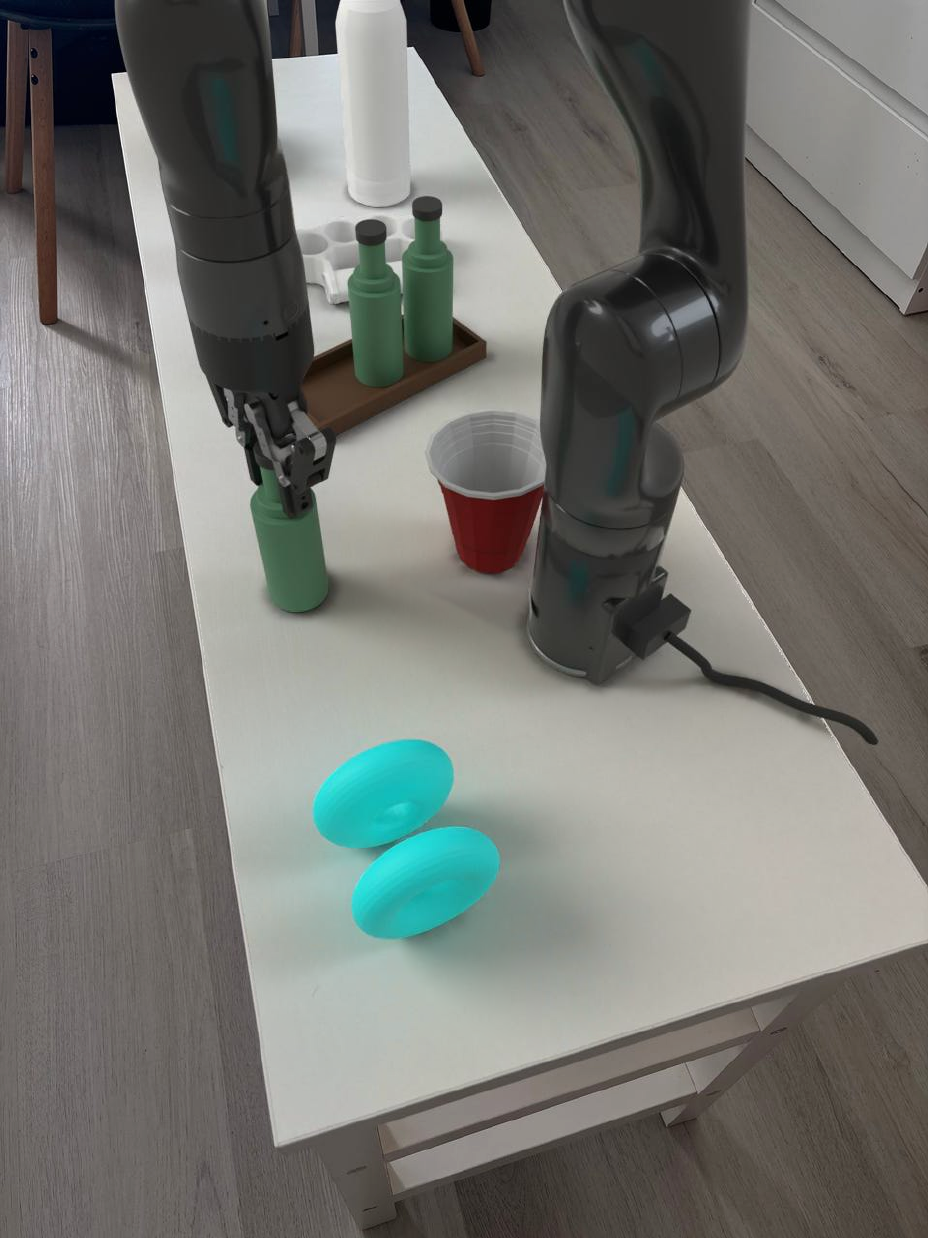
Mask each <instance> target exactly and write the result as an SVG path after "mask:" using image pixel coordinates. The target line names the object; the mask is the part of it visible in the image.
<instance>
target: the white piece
mask: <svg viewBox="0 0 928 1238" xmlns="http://www.w3.org/2000/svg"><path fill="white" fill-rule="evenodd" d="M367 219H375V220H379V221H382V222H383V223H384V224H385V225H386V231H387V238H386V240H385V257H386V264H388V265H390V266H391V267H392V269H393V271H394V272H395V273H396V274H397V275H398V276H399V278H400V282H401V294H403V278H402V255H403V253H404V252H405V251H406V250H407V249H408V246H409V244H410V243H411V242H412V241H414V240H415V222H414V216H413V214H408V215H396V214H392V213H388V212H368V213H366V214H362V215H359V216H343V215H342V216H339V217H336V218H332V219H327V220H326V221H325V222H324V223H323V224H321V225H318V226H315V227H311V228H301V229H300V228H299V229H296V234H297V237H298V241H299V244H300V248H301V252H302V256H303V261H304V268H305V276H306V284H315V285H320V286H321V287H323V289H324V291H325V295H326V299H327V301H328V304H330V305H331V304H334V305H336V304H340V303H347V302H349V297H348V285H347V282H348V279H349V277H350V276H351V275H352V274H353V271H354V269H355V268H356V267H357V266H358V265H359V264H360V259H359V245H358V241H357V240H356V234H355V226H356V224H357V223H359V222H360V221H363V220H367ZM442 228H443V227H442V225H441V224H440V240H441V241H443V229H442Z"/></svg>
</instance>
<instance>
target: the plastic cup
mask: <svg viewBox="0 0 928 1238" xmlns="http://www.w3.org/2000/svg"><path fill="white" fill-rule="evenodd" d="M424 454H425V459H426V462H427V466H428V470H429V472H430V474H431V475H432V476H433V477H435V479H436V481H437V483H438V485H439V487H440V490H441V494H442V496H443V500H444V505H445V508H446V513H447V518H448V521H449V526H450V530H451V533H452V536H453V540H454V545H455V549H456V553H457V554H458V556H459V559H460V560H461V561H462V563H463V564H464V565H465V566H466V567H467V568H470V569H471V570H473V571H475V572H477V573H482V574H488V575H493V574H499V573H503V572H505V571H507V570H510V569H511V568H513V567H515V565H516V564H517V563H518V561H520V558H521V557H522V556H523V554H524V550H525V548H526V545H527V542H528V538H529V537H530V536H531V533H532V530H533V527H534V525H535V521H536V518H537V515H538V512H539V509H540V507H541V504H542V497H543V489H544V480H545V473H546V460H545V456H544V452H543V447H542V442H541V434H540V418H538V417H535V416H533V415H530V414H527V413H524V412H523V411H519V410H514V409H505V408H493V407H491V408H486V409H485V408H484V409H479V410H472V411H467V412H464V413H462V414H460V415H459V414H458V416H455V417H453V418H450V419H448V420H446V421H444V422H443V423H442V424H441V425H440V426H439V427H438V428H437V429H435V431H433V432H432V433H431V434H430V436H429V439H428V442H427V445H426V447H425V449H424Z"/></svg>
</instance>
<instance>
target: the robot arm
mask: <svg viewBox="0 0 928 1238" xmlns="http://www.w3.org/2000/svg"><path fill="white" fill-rule="evenodd" d="M267 1H268V0H114V13H115V15H114V16H115V24H116V30H117V36H118V40H119V46H120V50H121V51H120V52H121V54H122V58H123V63H124V67H125V70H126V74H127V77H128V82H129V84H130V89H131V90H132V93H133V96H134V97H133V98H134V100H135V102H136V105H137V108H138V112H139V114H140V117H141V119H142V123H143V125H144V127H145V131H146V133H147V136H148V139H149V141H150V143H151V147H152V148H153V151H154V154H155V156H156V159H157V164H158V171H159V179H160V184H161V189H162V193H163V197H164V202H165V207H166V209H167V215H168V220H169V222H170V223H169V224H170V229H171V231H172V236H173V242H174V248H175V262H176V270H177V276H178V281H179V285H180V289H181V294H182V297H183V302H184V306H185V310H186V315H187V319H188V324H189V327H190V332H191V335H192V339H193V340H192V341H193V345H194V348H195V352H196V357H197V361H198V364H199V368H200V369H201V372H202V373H203V374H204V376H205V378H206V381H207V383H208V386H209V389H210V391H211V395H212V397H213V400H214V401H215V404H216V407H217V409H218V413H219V415H220V417H221V420H222V424H224V425H225V426H226V428H228V429H230V428H232V427H234V428H235V429H234V430H235V431H234V432H235V433H234V434H235V438H236V441H237V443H238V444H239V445H240V446H241V447H242V448H243V451H244V455H245V460H246V465H247V471H248V474H249V479H250V481H251V482H252V483H253V484H254V485H255V486H256V487H259V485H260V484H261V483H262V482H263V480H262V475H261V470H260V466H259V465H258V464H257V462H256V459H255V454H254V445H255V443H256V442H257V441H258V440H259V443H260V446H261V450H262V453H263V454H264V455H265V456H266V457H268V458H269V459H271V460H272V462H273V465H274V468H275V471H276V474H277V478H278V480H277V481H278V486H279V491H280V497H281V502H282V508H283V512H284V513H285V514H286V515H287V516H288V517H289V518H290V519H293V518H295V517H297V516H299V515H301V514H303V513H304V512H306V511H308V510H309V509H311V508H312V507H313V500H312V493H311V489H312V488H313V487H314V486H316V485H318V484H320V483H323V482H325V481H327V480H328V479H329V476H330V472H331V468H332V462H333V458H334V454H335V449H336V444H337V435H336V436H335V434H334V432H333V430H332V429H331V428H330V427H328V426H326V427H324V428H322V429H320V430H318V429H317V428H316V427H315V425H314V424H313V423H312V422H311V420H310V419H309V418H308V416H307V414H308V403H307V400H306V398H305V395H304V393H303V389H302V386H301V383H302V380H303V378H304V376H305V374H306V372H307V370H308V369H309V367H310V365H311V363H312V361H313V358H314V356H315V342H314V334H313V325H312V317H311V310H310V302H309V300H310V299H309V293H308V283H306V276H305V268H304V261H303V256H302V252H301V248H300V244H299V241H298V237H297V234H296V230H297V229H296V222H295V214H294V207H293V206H294V205H293V200H292V199H293V198H292V190H291V183H290V178H289V177H290V176H289V172H288V170H289V169H288V165H287V159H286V155H285V151H284V147H283V145H282V142H281V139H280V138H279V130H278V116H277V115H278V114H277V113H278V112H277V102H276V100H277V99H276V90H275V89H276V88H275V80H274V79H275V78H274V65H273V54H272V44H271V31H270V23H269V22H270V21H269V11H268V2H267ZM752 4H753V0H562V5H563V8H564V11H565V15H566V19H567V21H568V24H569V27H570V29H571V32H572V34H573V36H574V38H575V41H576V43H577V45H578V47H579V49H580V51H581V53H582V55H583V57H584V59H585V61H586V62H587V65H588V67H589V68H590V70H591V72H592V74H593V75H594V77H595V79H596V80H597V82H598V84H599V85H600V87H601V89H602V91H603V93H604V94H605V96H606V98H607V99H608V101H609V102H610V104H611V107H613V109H614V111H615V113H616V115H617V117H618V119H619V120H620V122H621V124H622V126H623V128H624V130H625V132H626V134H627V137H628V139H629V142H630V145H631V147H632V152H633V154H634V158H635V162H636V169H637V170H636V171H637V177H638V188H639V189H638V190H639V205H640V206H639V210H640V211H639V212H640V213H639V214H640V215H639V218H640V219H639V220H640V221H639V222H640V223H639V227H640V229H639V241H638V248H637V252H636V256H635V257H632V258H630V259H628V260H625V261H623V262H620V263H618V264H616V265H613V266H612V267H609V268H607V269H604V270H602V271H600V272H597V273H595V274H593V275H590V276H588V277H586V278H584V279H581V280H578V281H577V282H575V283H573V284H571V285H569V286H568V287H566V288H564V290H562V291H561V292H560V293H559V294H558V296H557V297H556V299H555V300H554V302H553V304H552V306H551V308H550V310H549V313H548V316H547V319H546V324H545V328H544V333H543V341H542V355H541V358H542V359H541V386H540V408H539V410H540V411H539V419H540V434H541V442H542V447H543V452H544V456H545V460H546V473H545V480H544V489H543V497H542V500H541V504H540V513H539V523H538V531H537V541H536V547H535V548H536V549H535V556H534V565H533V566H534V567H533V573H532V583H531V584H530V582H528V585H527V593H528V595H527V596H528V605H529V606H528V607H529V609H528V612H527V616H526V617H527V618H526V623H525V624H526V626H525V631H526V637H527V640H528V643H529V645H530V647H531V649H532V651H533V652H534V653H535V655H536V656H537V658H539V659H540V660H541V661H542V662H543V663H545V664H546V665H547V666H549V667H550V668H552V669H554V670H555V671H557V672H560V673H562V674H565V675H568V676H572V677H577V678H585V679H586V680H588V681H589V682H590V683H591V684H592V685H595V686H598V685H600V684H601V683H603V682H604V681H605V680H607V679H608V678H609V677H611V676H612V675H613V674H615V673H616V672H617V671H619V670H622V668H625V666H627V665H628V664H629V663H630V662H631V661H632V660H633V659H635V658H636V657H638V658H639V659H641V660H642V661H644V660H646V659H647V658H649V657H650V656H651V655H653V654H654V653H655V652H657V651H658V650H659V649H660V648H662V647H663V646H665V645H666V644H667V643H668V645H670V646H672V647H673V648H674V649H676V650H677V651H678V652H680V653H681V654H682V655H684V656H685V657H686V658H688V659H689V660H690V661H692V662H693V664H695V665H696V666H697V667H698V668H700V671H701V673H702V675H703V676H704V677H705V678H706V679H707V680H709V681H712V682H714V683H717V684H719V685H725V686H731V687H737V688H743V689H749V690H751V691H755V692H757V693H760V694H762V695H765V696H767V697H769V698H772V699H774V700H775V701H777V702H779V703H782V704H783V705H785V706H788V707H790V708H791V709H794V710H797V711H799V712H802V713H805V714H808V715H811V716H813V717H816V718H817V717H818V718H820V719H824V720H828V721H831V722H835V723H838V724H841V725H844V726H846V727H848V728H850V729H852V730H853V731H855V732H856V733H857V734H859V735H860V737H861V738H862V739H863V740H864V741H865V742H866V743H867V744H869V745H872V746H877V745H878V744H879V741H878V738H877V735H876V734H875V733H874V732H873V731H872V729H871V728H870V727H869V726H868V725H867V724H865V723H864V722H862V721H861V720H860V719H857V718H856V717H854V716H851V715H849V714H847V713H844V712H842V711H838V710H834V709H831V708H827V707H824V706H821V705H817V704H813V703H811V702H808V701H804V700H802V699H800V698H797V697H795V696H793V695H791V694H788V693H787V692H784V691H783V690H780V688H779V689H778V688H776V687H775V686H773V685H771V684H767V683H765V682H763V681H760V680H757V679H754V678H750V677H745V676H739V675H733V674H732V675H731V674H727V673H723V672H719V671H716V670H715V669H713V667H712V664H711V663H710V661H709V660H708V659H707V657H705V656H703V654H702V653H700V652H699V650H696V649H695V648H694V647H692V646H691V645H690V644H688V643H687V642H686V641H685V640H683V639H682V638H680V637H679V636H678V635H679V634H680V633H682V632H683V631H684V630H686V628H687V625H688V622H689V619H690V617H691V614H692V609H691V608H689V607H688V606H687V605H686V604H684V602H682V601H681V600H680V599H678V598H677V597H676V596H675V595H674V594H672V593H669V594H666V596H664V597H663V595H664V592H665V589H666V585H667V582H668V578H669V572H668V570H666V569H665V568H664V567H663V566H661V565H660V563H661V560H662V557H663V553H664V549H665V545H666V541H667V538H668V534H669V531H670V527H671V524H672V520H673V516H674V512H675V509H676V505H677V501H678V498H679V494H680V491H681V487H682V483H683V479H684V475H685V474H684V473H685V459H684V454H683V450H682V449H681V446H680V444H679V443H678V441H677V440H676V438H675V437H674V436H673V434H671V433H670V431H668V430H667V429H666V428H665V427H664V426H663V425H661V424H660V423H659V422H657V421H658V420H661V419H662V418H664V417H666V416H667V415H670V414H671V413H674V412H675V411H678V410H679V409H681V408H683V407H685V406H687V405H689V404H691V403H693V402H695V401H697V400H699V399H701V398H702V397H704V396H706V395H708V394H710V393H712V392H713V391H715V390H716V389H718V388H719V387H720V386H721V385H723V384H724V383H725V382H726V381H727V380H728V379H730V377H731V376H733V373H734V372H735V371H736V369H737V368H738V366H739V364H740V361H741V359H742V357H743V353H744V350H745V347H746V341H747V335H748V327H749V313H750V312H749V310H750V287H749V286H750V285H749V257H748V256H749V255H748V254H749V253H748V251H749V250H748V227H747V226H748V225H747V224H748V223H747V222H748V221H747V197H746V190H747V189H746V142H747V117H748V98H749V97H748V95H749V94H748V93H749V72H750V71H749V70H750V69H749V68H750V42H751V27H752V25H751V23H752V6H753V5H752ZM285 436H286V437H285ZM283 437H284V438H283ZM281 438H282V439H281ZM273 439H274V440H278V439H280V440H278V441H276V442H274V443H273ZM293 453H294V455H293V462H292V464H290V465H288V466H287V464H286V457H287V456H289V455H291V454H293Z"/></svg>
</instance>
